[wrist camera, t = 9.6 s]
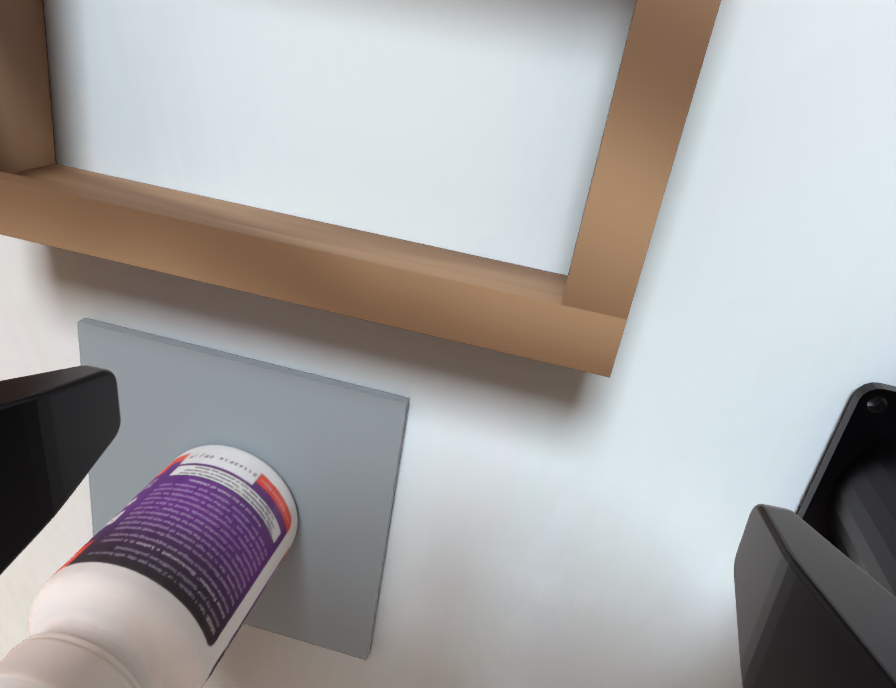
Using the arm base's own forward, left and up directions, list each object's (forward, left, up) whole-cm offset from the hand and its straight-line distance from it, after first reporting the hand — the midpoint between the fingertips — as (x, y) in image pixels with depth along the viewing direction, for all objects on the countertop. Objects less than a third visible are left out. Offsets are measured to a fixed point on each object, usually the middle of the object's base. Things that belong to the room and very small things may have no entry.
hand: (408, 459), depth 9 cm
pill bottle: (-12, +8, -12) cm, 19 cm away
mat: (-12, +8, -12) cm, 19 cm away
